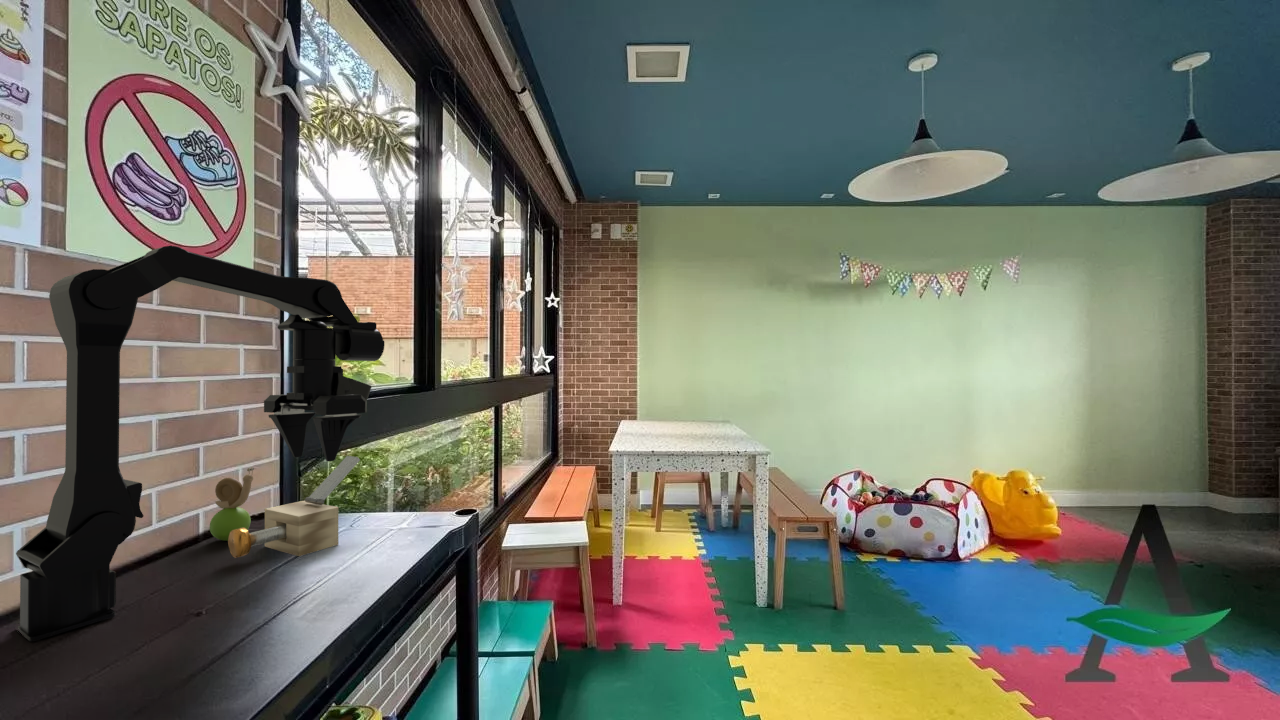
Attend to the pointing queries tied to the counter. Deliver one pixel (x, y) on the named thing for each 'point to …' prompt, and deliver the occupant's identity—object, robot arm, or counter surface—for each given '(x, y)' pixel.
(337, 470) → the bar
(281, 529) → the pin
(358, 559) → the counter surface
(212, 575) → the counter surface
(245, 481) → the snail figurine
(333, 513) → the block
